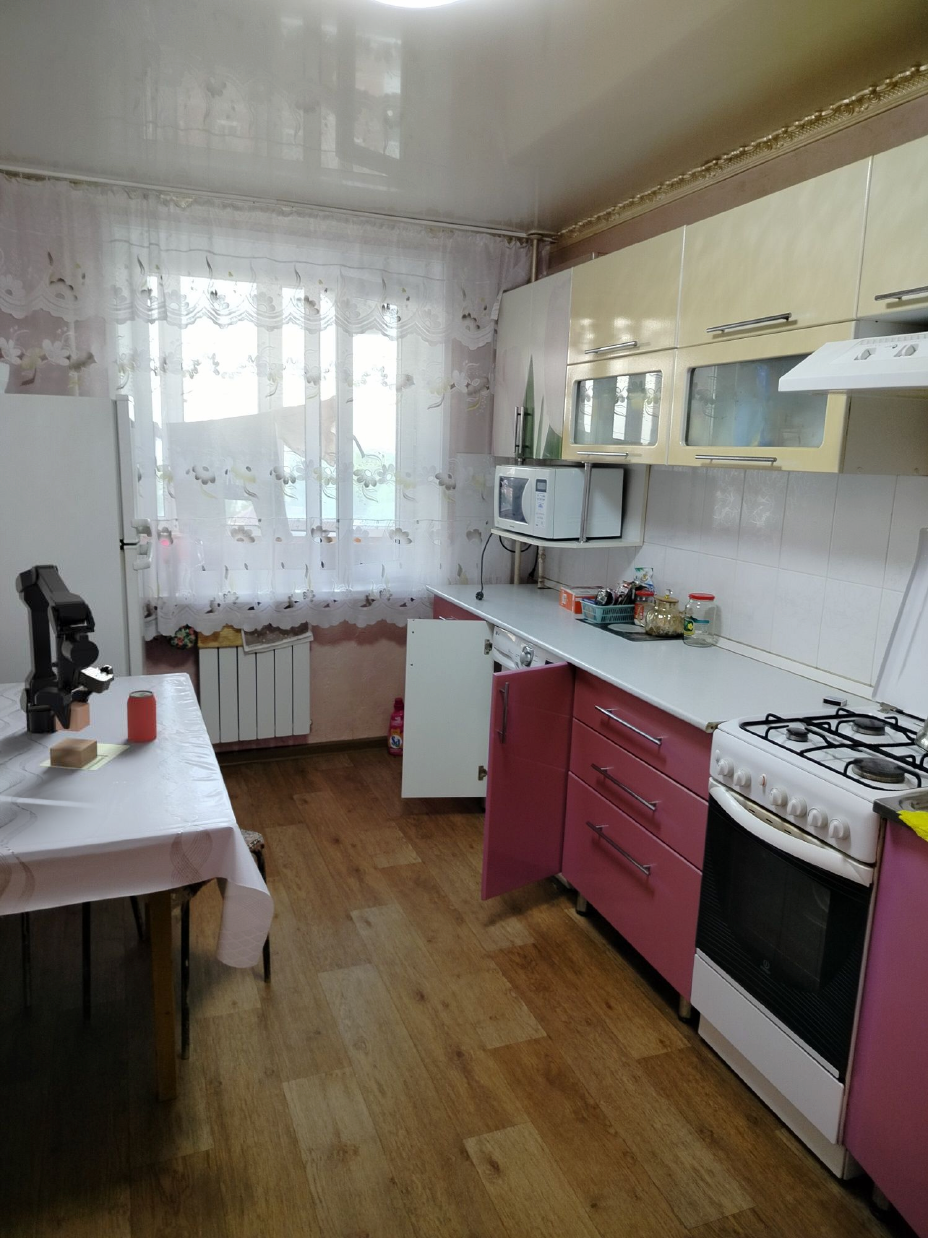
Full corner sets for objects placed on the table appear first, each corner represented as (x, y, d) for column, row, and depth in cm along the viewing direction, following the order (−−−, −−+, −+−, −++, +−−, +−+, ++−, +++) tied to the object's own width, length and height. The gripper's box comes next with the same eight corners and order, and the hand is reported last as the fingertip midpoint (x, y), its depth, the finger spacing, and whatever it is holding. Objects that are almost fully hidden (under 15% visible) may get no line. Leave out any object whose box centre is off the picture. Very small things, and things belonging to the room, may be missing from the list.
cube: (56, 730, 185) (55, 708, 184) (68, 722, 190) (67, 701, 189) (78, 731, 184) (77, 709, 183) (90, 724, 189) (89, 703, 188)
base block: (50, 765, 185) (49, 748, 185) (67, 754, 192) (67, 738, 191) (81, 768, 185) (80, 750, 184) (97, 757, 192) (97, 740, 191)
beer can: (147, 746, 202) (146, 698, 200) (122, 743, 203) (120, 695, 201) (162, 738, 208) (161, 691, 206) (137, 735, 210) (136, 688, 207)
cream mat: (38, 769, 185) (38, 765, 185) (77, 744, 201) (76, 741, 201) (95, 773, 184) (95, 770, 184) (130, 749, 200) (130, 745, 200)
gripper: (83, 669, 174) (86, 742, 177) (126, 649, 193) (128, 715, 196) (31, 665, 175) (35, 737, 178) (79, 645, 193) (81, 711, 196)
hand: (73, 725), depth 187 cm, fingers closed on cube, 5 cm apart
